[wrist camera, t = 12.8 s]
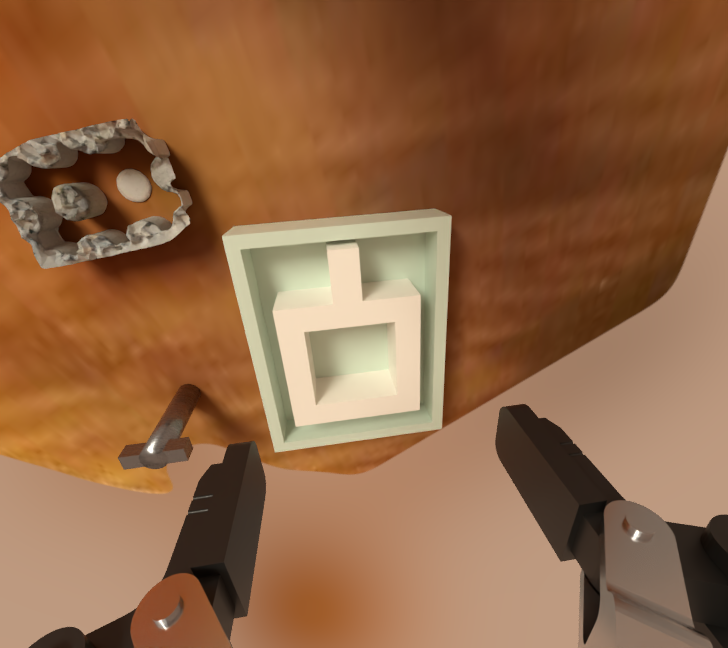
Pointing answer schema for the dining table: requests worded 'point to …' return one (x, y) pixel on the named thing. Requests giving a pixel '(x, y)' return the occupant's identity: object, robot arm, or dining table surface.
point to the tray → (351, 344)
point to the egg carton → (86, 194)
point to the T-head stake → (165, 435)
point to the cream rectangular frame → (340, 310)
